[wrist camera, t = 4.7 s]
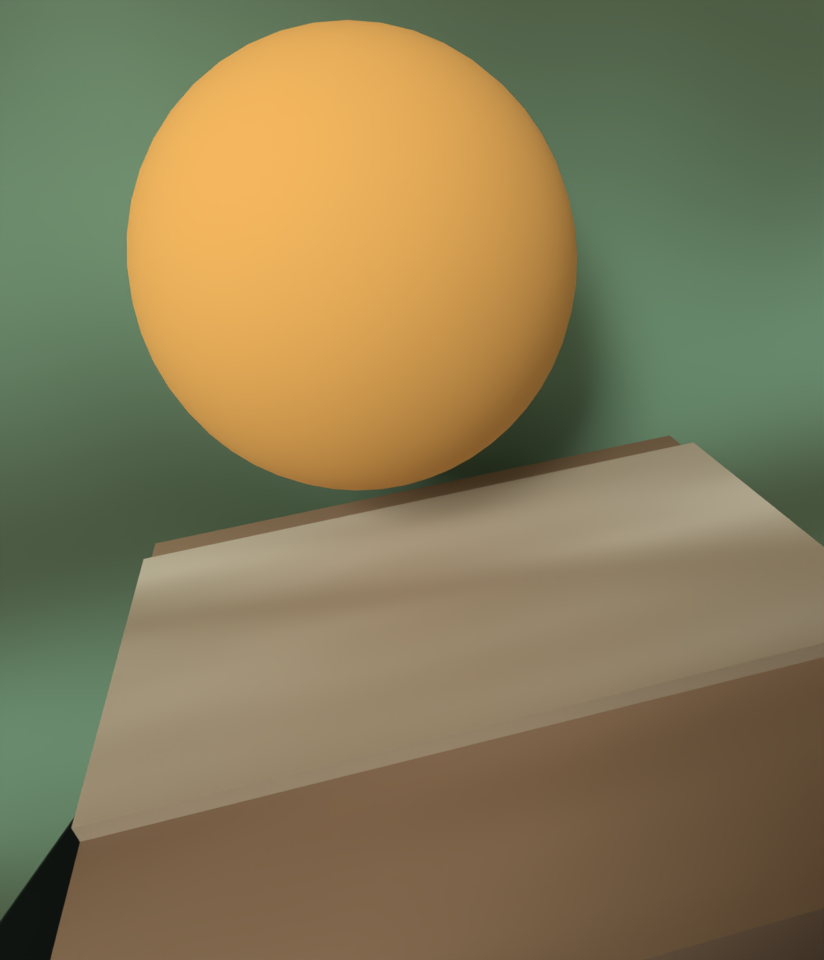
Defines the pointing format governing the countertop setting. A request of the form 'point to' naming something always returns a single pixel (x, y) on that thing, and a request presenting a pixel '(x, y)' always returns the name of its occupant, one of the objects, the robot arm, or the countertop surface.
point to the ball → (351, 255)
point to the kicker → (469, 729)
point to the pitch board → (538, 430)
